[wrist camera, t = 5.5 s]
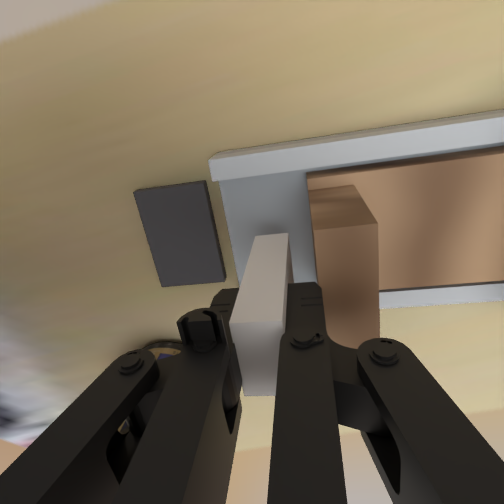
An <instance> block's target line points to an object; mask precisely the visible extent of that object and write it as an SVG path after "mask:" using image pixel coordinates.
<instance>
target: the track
mask: <svg viewBox="0 0 504 504" xmlns="http://www.w3.org/2000/svg"><path fill="white" fill-rule="evenodd" d="M497 146H504V109H501V110H494V111H487V112H481V113H474V114H467V115H461V116H454V117H448V118H441V119H434V120H428V121H421V122H414V123H408V124H401V125H395V126H388V127H381V128H375V129H368V130H361V131H355V132H348V133H342V134H335V135H328V136H322V137H315V138H308V139H302V140H295V141H289V142H282V143H275V144H269V145H262V146H255V147H249V148H242V149H236V150H229V151H222V152H218V153H217V154H215V155H214V156H213V157H212V158H210V159H209V160H208V163H209V168H210V173H211V177H212V182H214V181H219V186H220V191H221V196H222V201H223V206H224V211H225V216H226V221H227V226H228V231H229V236H230V241H231V246H232V251H233V256H234V261H235V266H236V271H237V276H238V282H239V287H240V285H241V282H242V278H243V275H244V272H245V269H246V265H247V262H248V259H249V255H250V252H251V249H252V245H253V242H254V239H255V236H260V235H270V234H280V233H288V234H289V242H290V251H291V259H292V268H293V276H294V283H301V282H314V281H315V282H316V283H317V280H316V269H315V259H314V249H313V238H312V228H311V218H310V207H309V197H308V186H307V176H306V172H311V171H319V170H326V169H334V168H341V167H348V166H356V165H363V164H371V163H378V162H386V161H393V160H400V159H408V158H415V157H423V156H430V155H437V154H445V153H452V152H460V151H467V150H474V149H482V148H489V147H497ZM491 301H504V280H502V281H489V282H476V283H462V284H449V285H436V286H423V287H410V288H397V289H384V290H379V309H387V308H402V307H417V306H431V305H446V304H461V303H476V302H491Z"/></svg>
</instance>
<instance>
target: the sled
mask: <svg viewBox="0 0 504 504" xmlns="http://www.w3.org/2000/svg"><path fill="white" fill-rule="evenodd" d="M306 176H307V186H308V197H309V207H310V218H311V228H312V238H313V249H314V259H315V269H316V280H317V284H318V285H319V286H320V287H321V288H322V296H323V305H324V313H325V322H326V330H327V333H328V336H329V337H330V338H331V339H332V340H333V341H334V342H336V343H338V344H340V345H342V346H345V347H349V348H354V349H358V347H359V346H360V345H361V344H362V343H363V342H364V341H367V340H370V339H372V338H380V314H379V290H384V289H397V288H410V287H423V286H436V285H449V284H462V283H476V282H489V281H502V280H504V146H497V147H489V148H482V149H474V150H467V151H460V152H452V153H445V154H437V155H430V156H423V157H415V158H408V159H400V160H393V161H386V162H378V163H371V164H363V165H356V166H348V167H341V168H334V169H326V170H319V171H311V172H306Z"/></svg>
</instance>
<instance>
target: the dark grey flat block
mask: <svg viewBox="0 0 504 504" xmlns="http://www.w3.org/2000/svg"><path fill="white" fill-rule="evenodd" d="M133 194H134V197H135V200H136V204H137V207H138V210H139V213H140V217H141V220H142V223H143V227H144V230H145V233H146V237H147V240H148V243H149V246H150V250H151V253H152V256H153V260H154V263H155V266H156V270H157V273H158V276H159V280H160V283H161V286H162V287H169V286H181V285H192V284H204V283H216V282H225V280H226V272H225V268H224V263H223V258H222V253H221V249H220V244H219V239H218V235H217V230H216V225H215V221H214V216H213V211H212V207H211V202H210V197H209V193H208V188H207V183H206V180H204V181H197V182H189V183H182V184H175V185H168V186H160V187H153V188H146V189H139V190H136V191H135V192H133Z"/></svg>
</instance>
